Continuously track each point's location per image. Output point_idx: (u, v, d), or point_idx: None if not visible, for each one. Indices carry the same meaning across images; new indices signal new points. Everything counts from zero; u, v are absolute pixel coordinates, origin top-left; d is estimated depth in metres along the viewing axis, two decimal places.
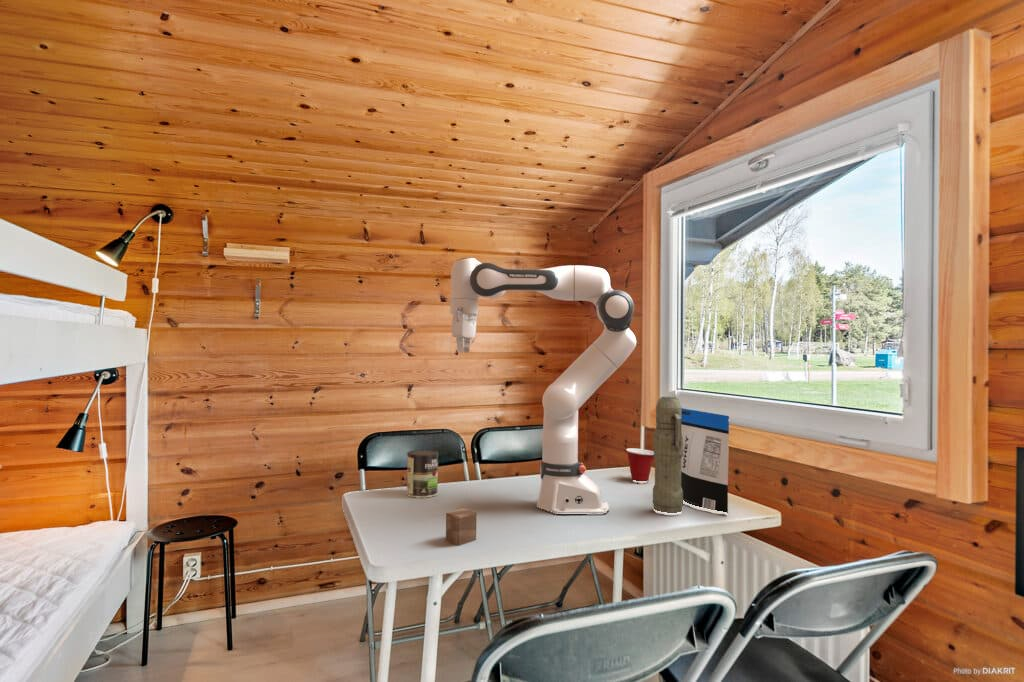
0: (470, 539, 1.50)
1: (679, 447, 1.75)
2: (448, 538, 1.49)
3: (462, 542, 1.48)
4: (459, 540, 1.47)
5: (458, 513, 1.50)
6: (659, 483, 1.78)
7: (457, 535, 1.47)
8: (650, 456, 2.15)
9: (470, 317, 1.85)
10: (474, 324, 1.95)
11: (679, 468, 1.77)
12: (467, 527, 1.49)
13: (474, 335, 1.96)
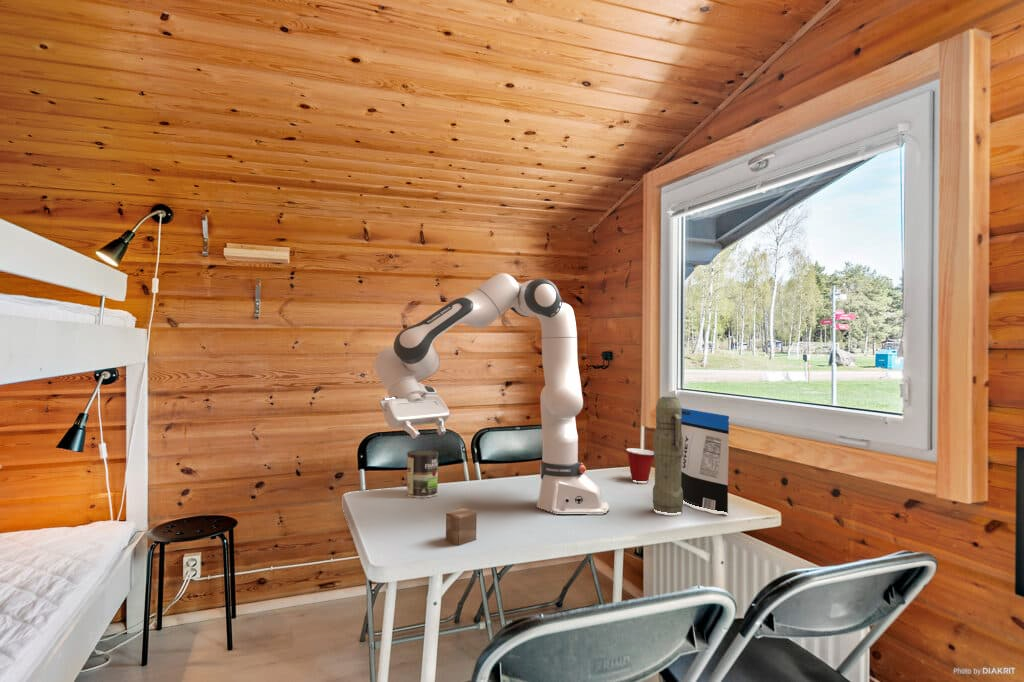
0: (470, 539, 1.50)
1: (679, 447, 1.75)
2: (448, 538, 1.49)
3: (462, 542, 1.48)
4: (459, 540, 1.47)
5: (458, 513, 1.50)
6: (659, 483, 1.78)
7: (457, 535, 1.47)
8: (650, 456, 2.15)
9: (410, 398, 1.62)
10: (438, 402, 1.69)
11: (679, 468, 1.77)
12: (467, 527, 1.49)
13: (446, 412, 1.67)
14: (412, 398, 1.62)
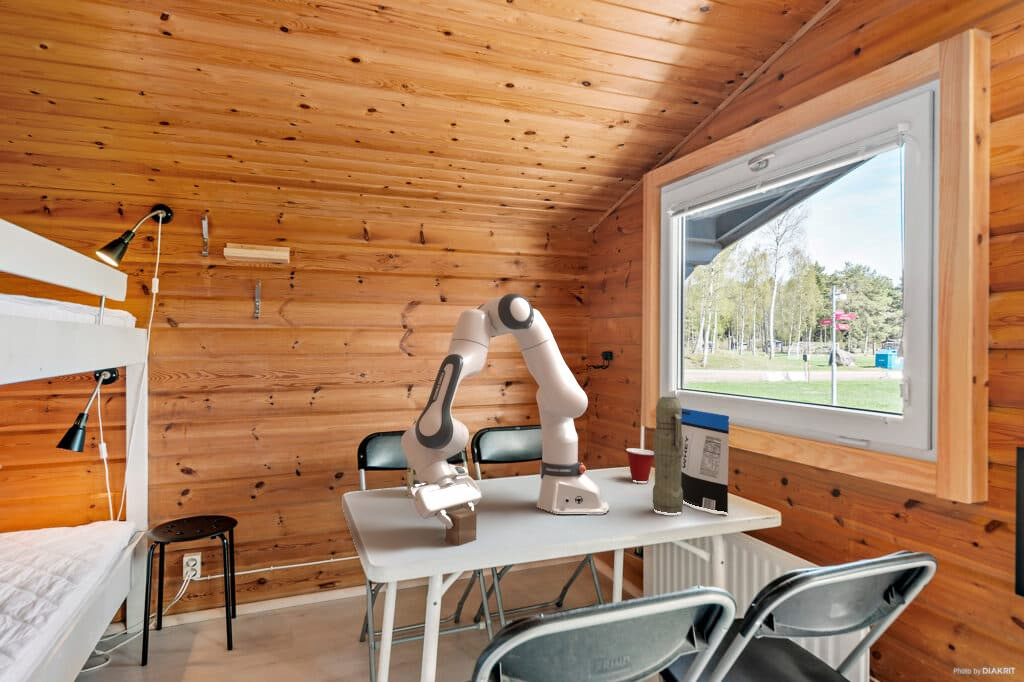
0: (470, 539, 1.50)
1: (679, 447, 1.75)
2: (448, 538, 1.49)
3: (462, 542, 1.48)
4: (459, 540, 1.47)
5: (458, 513, 1.50)
6: (659, 483, 1.78)
7: (457, 535, 1.47)
8: (650, 456, 2.15)
9: (441, 483, 1.53)
10: (470, 484, 1.60)
11: (679, 468, 1.77)
12: (467, 527, 1.49)
13: (478, 495, 1.59)
14: (443, 483, 1.53)
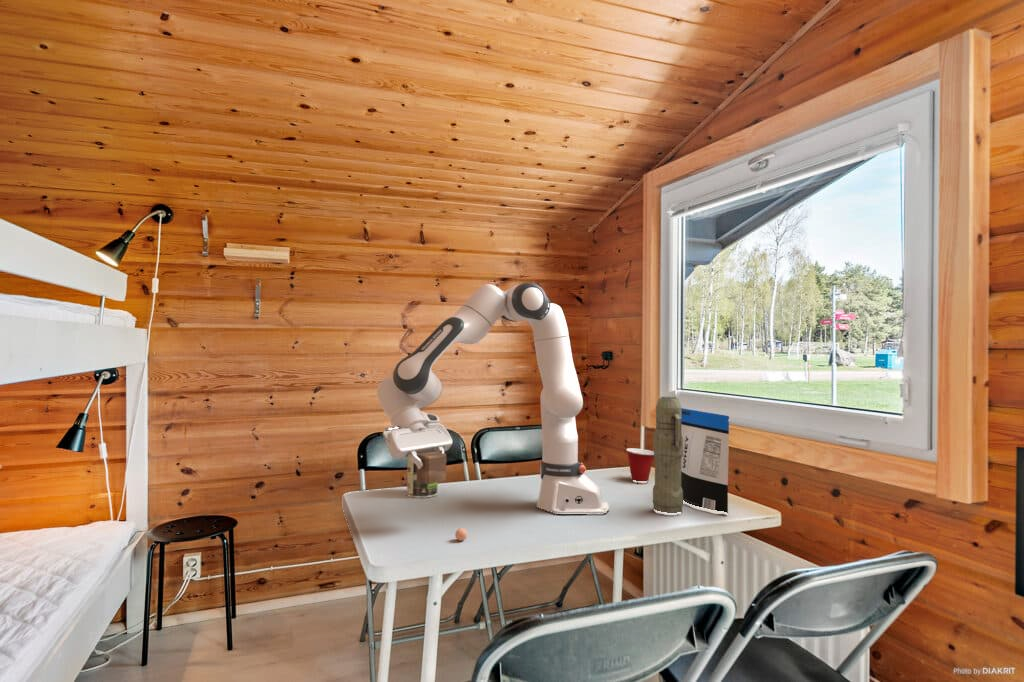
0: (439, 479, 1.59)
1: (679, 447, 1.75)
2: (419, 478, 1.58)
3: (432, 481, 1.57)
4: (429, 479, 1.56)
5: (428, 454, 1.59)
6: (659, 483, 1.78)
7: (427, 475, 1.56)
8: (650, 456, 2.15)
9: (413, 428, 1.62)
10: (441, 430, 1.69)
11: (679, 468, 1.77)
12: (436, 468, 1.58)
13: (449, 440, 1.68)
14: (415, 428, 1.62)
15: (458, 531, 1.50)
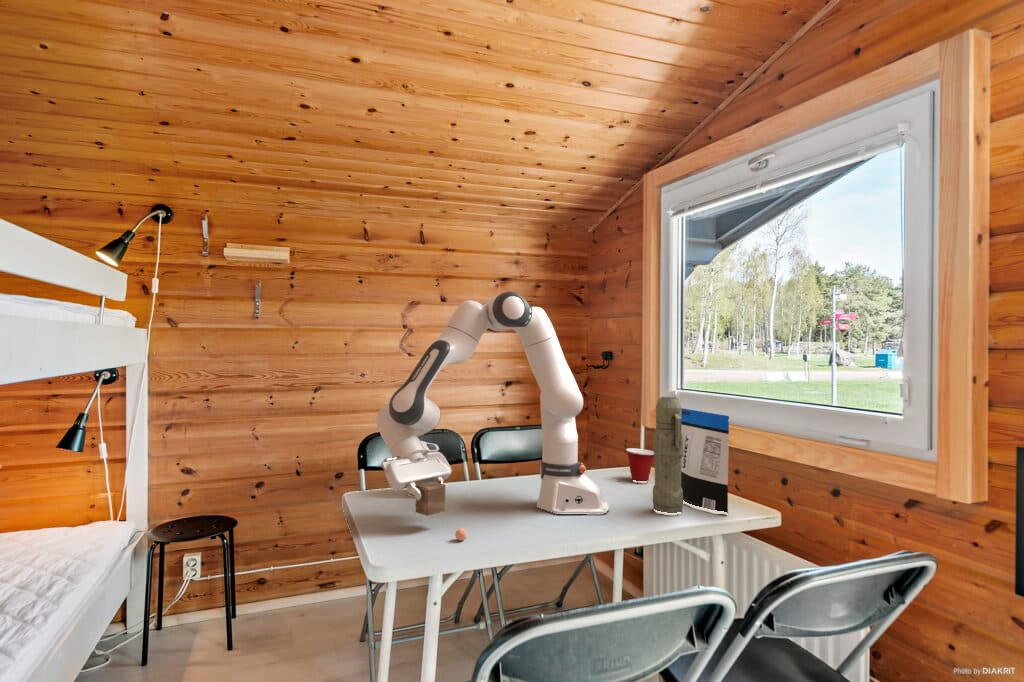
0: (438, 510, 1.59)
1: (679, 447, 1.75)
2: (418, 509, 1.58)
3: (430, 513, 1.57)
4: (427, 510, 1.56)
5: (427, 485, 1.59)
6: (659, 483, 1.78)
7: (426, 506, 1.56)
8: (650, 456, 2.15)
9: (412, 458, 1.62)
10: (440, 460, 1.69)
11: (679, 468, 1.77)
12: (435, 499, 1.58)
13: (448, 470, 1.68)
14: (414, 458, 1.62)
15: (458, 531, 1.50)
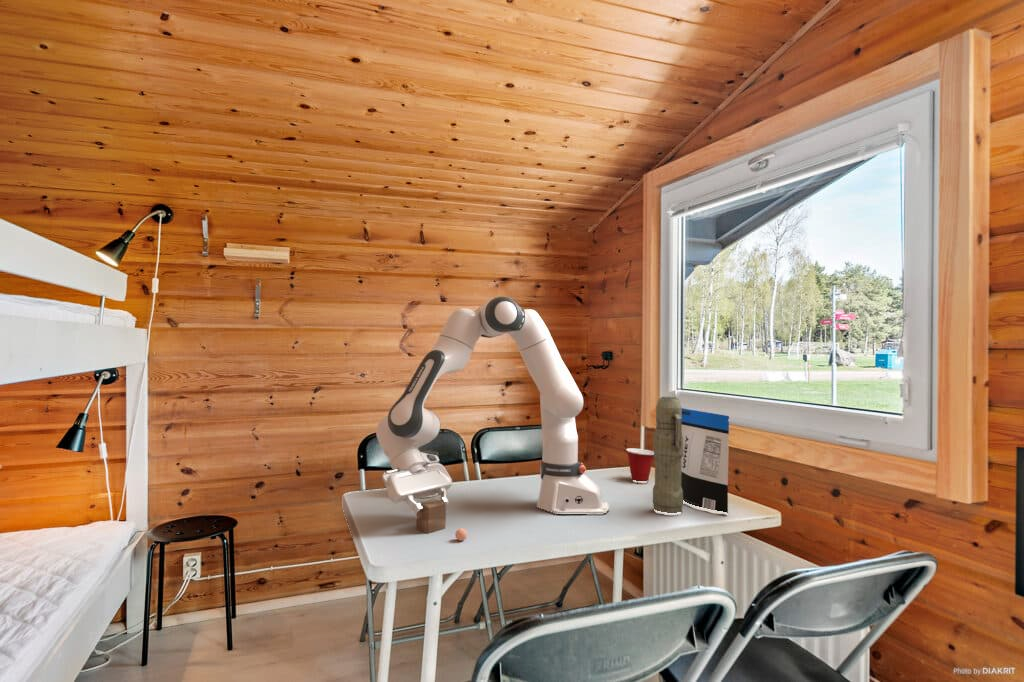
0: (439, 527, 1.59)
1: (679, 447, 1.75)
2: (418, 527, 1.58)
3: (431, 530, 1.57)
4: (428, 528, 1.56)
5: (428, 503, 1.59)
6: (659, 483, 1.78)
7: (427, 524, 1.56)
8: (650, 456, 2.15)
9: (412, 470, 1.62)
10: (441, 471, 1.69)
11: (679, 468, 1.77)
12: (436, 516, 1.58)
13: (448, 481, 1.68)
14: (414, 470, 1.62)
15: (458, 531, 1.50)
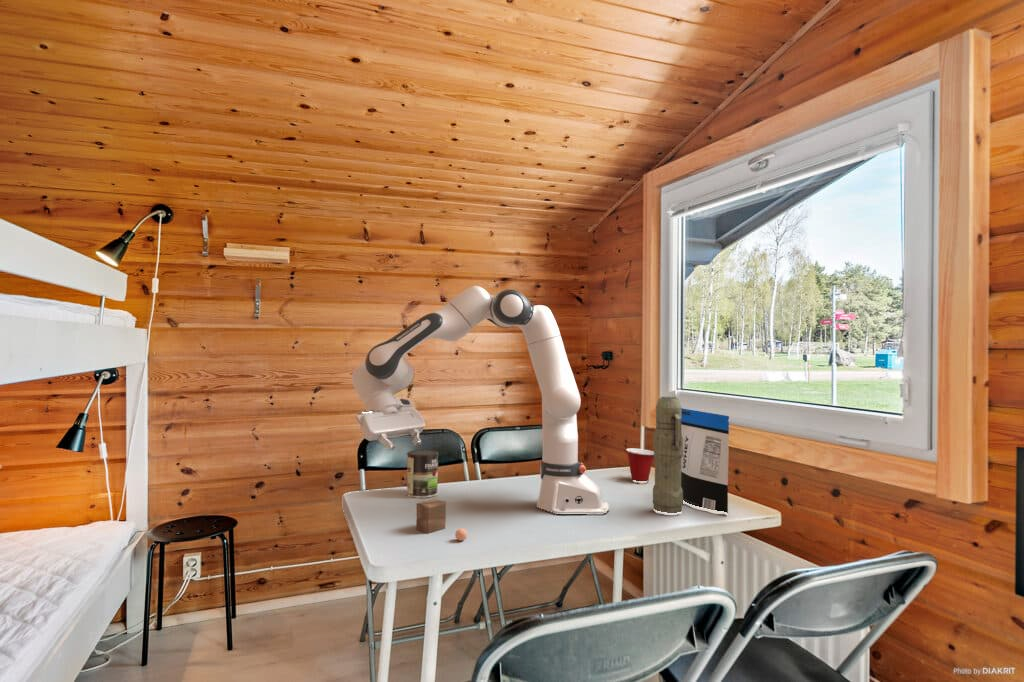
0: (439, 527, 1.59)
1: (679, 447, 1.75)
2: (418, 527, 1.58)
3: (431, 530, 1.57)
4: (428, 528, 1.56)
5: (428, 503, 1.59)
6: (659, 483, 1.78)
7: (427, 524, 1.56)
8: (650, 456, 2.15)
9: (386, 411, 1.70)
10: (414, 414, 1.77)
11: (679, 468, 1.77)
12: (436, 516, 1.58)
13: (421, 423, 1.75)
14: (388, 411, 1.70)
15: (458, 531, 1.50)
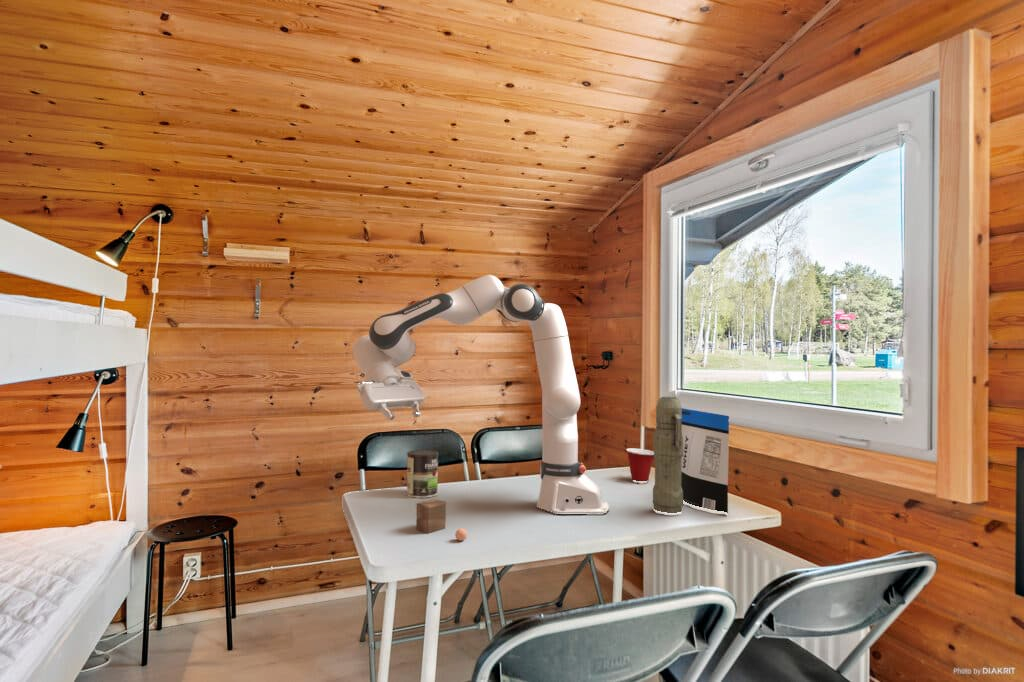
0: (439, 527, 1.59)
1: (679, 447, 1.75)
2: (418, 527, 1.58)
3: (431, 530, 1.57)
4: (428, 528, 1.56)
5: (428, 503, 1.59)
6: (659, 483, 1.78)
7: (427, 524, 1.56)
8: (650, 456, 2.15)
9: (386, 382, 1.70)
10: (414, 387, 1.77)
11: (679, 468, 1.77)
12: (436, 516, 1.58)
13: (421, 396, 1.76)
14: (388, 382, 1.70)
15: (458, 531, 1.50)
